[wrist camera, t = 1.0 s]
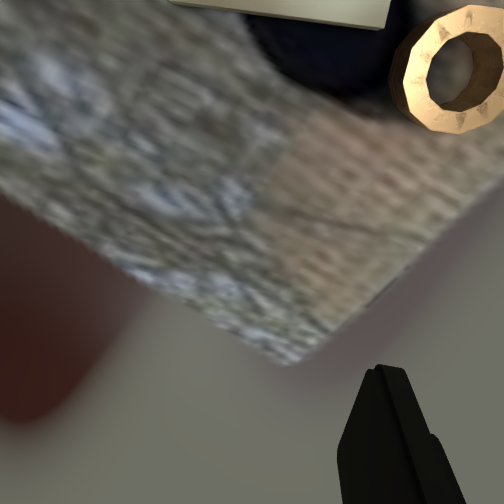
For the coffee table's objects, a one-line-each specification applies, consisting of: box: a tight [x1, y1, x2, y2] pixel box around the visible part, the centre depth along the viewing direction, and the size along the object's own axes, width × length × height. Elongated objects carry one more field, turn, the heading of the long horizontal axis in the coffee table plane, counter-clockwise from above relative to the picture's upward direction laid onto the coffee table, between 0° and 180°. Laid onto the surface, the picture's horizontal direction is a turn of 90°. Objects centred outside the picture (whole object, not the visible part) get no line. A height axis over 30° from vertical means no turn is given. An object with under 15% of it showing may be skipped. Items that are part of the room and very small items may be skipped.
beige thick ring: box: [388, 4, 504, 134], centre depth 26 cm, size 7×7×4 cm
